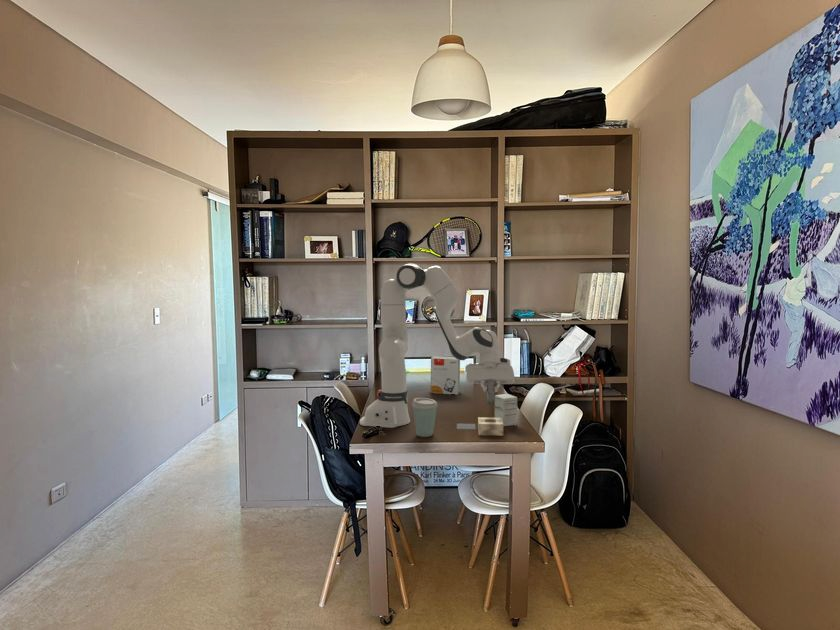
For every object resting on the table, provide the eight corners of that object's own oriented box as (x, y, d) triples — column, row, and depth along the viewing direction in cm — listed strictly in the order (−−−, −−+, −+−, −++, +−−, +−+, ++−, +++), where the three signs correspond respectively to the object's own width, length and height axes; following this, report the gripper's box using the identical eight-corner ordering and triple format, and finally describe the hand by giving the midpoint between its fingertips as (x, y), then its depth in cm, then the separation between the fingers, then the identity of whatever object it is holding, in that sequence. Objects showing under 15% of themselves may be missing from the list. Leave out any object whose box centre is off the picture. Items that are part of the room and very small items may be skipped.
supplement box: (493, 422, 237) (494, 394, 236) (508, 421, 240) (508, 393, 239) (503, 427, 230) (503, 398, 229) (517, 425, 233) (517, 396, 232)
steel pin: (487, 404, 220) (487, 380, 220) (486, 402, 223) (486, 379, 223) (494, 404, 220) (494, 380, 219) (494, 402, 223) (494, 379, 222)
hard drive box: (430, 393, 295) (430, 357, 293) (433, 390, 302) (433, 355, 301) (457, 395, 291) (457, 358, 290) (460, 392, 299) (460, 356, 297)
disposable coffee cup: (436, 431, 224) (436, 396, 223) (438, 439, 214) (438, 402, 212) (411, 431, 224) (411, 396, 223) (412, 439, 213) (411, 403, 212)
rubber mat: (456, 429, 227) (456, 428, 227) (456, 424, 235) (456, 423, 235) (475, 430, 226) (475, 429, 226) (475, 424, 234) (475, 423, 234)
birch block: (478, 435, 218) (478, 423, 218) (477, 428, 228) (477, 417, 228) (503, 436, 217) (503, 424, 217) (501, 429, 227) (501, 417, 227)
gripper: (465, 359, 228) (465, 386, 219) (513, 359, 226) (515, 387, 218) (465, 367, 233) (465, 395, 224) (512, 368, 231) (514, 395, 222)
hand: (490, 391), depth 221 cm, fingers closed on steel pin, 3 cm apart
